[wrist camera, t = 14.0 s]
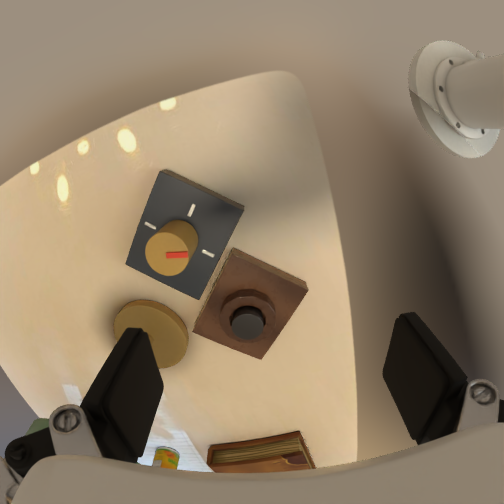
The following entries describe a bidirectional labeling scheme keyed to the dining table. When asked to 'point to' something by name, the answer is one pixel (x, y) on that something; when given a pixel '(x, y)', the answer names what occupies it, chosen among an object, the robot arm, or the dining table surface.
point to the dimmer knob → (171, 247)
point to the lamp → (159, 331)
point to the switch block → (249, 302)
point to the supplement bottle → (166, 458)
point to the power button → (247, 323)
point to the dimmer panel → (196, 214)
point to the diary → (261, 455)
